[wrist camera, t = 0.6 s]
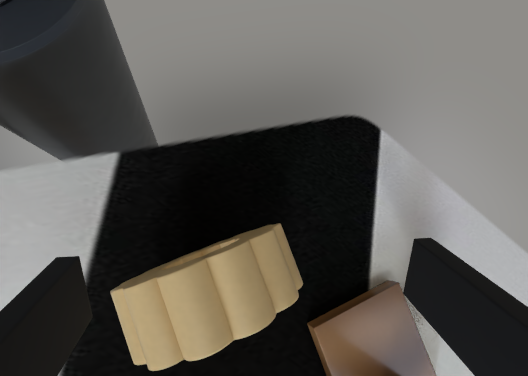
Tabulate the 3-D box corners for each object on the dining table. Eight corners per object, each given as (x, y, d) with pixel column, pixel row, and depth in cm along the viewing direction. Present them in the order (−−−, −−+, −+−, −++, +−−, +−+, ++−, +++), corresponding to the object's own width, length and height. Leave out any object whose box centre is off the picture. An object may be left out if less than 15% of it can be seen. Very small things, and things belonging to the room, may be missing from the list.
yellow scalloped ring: (133, 275, 24) (82, 308, 13) (258, 226, 27) (303, 219, 16) (150, 326, 24) (113, 405, 13) (274, 270, 27) (332, 294, 16)
